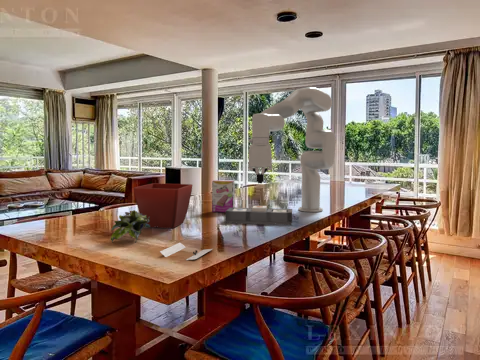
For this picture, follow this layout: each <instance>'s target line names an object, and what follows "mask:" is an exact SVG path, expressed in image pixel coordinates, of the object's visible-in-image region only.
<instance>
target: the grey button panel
mask: <svg viewBox="0 0 480 360" xmlns="http://www.w3.org/2000/svg"><path fill="white" fill-rule="evenodd" d="M233 209H247V211H232V210H233ZM273 210H287V212H273ZM224 224H240V225H268V226H269V225H273V226H293V208H271V207H270V208H268V207H267V212H261V211H252V207H234V208H232V207H230V208H229V209H228V210H227V211H226V212H225V220H224Z"/></svg>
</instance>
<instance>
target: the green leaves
mask: <svg viewBox="0 0 480 360" xmlns="http://www.w3.org/2000/svg"><path fill="white" fill-rule="evenodd" d="M118 218H119V219H120V220H114V223H115V224H113V225H112V227H111V228H110V229H111V231H114V232H113V233H112V234H111V236H110V239H109V240H110V241H111V242H112V243H114V241H115V240H119V239H120V238H122V237H123V236H125V235H127V234H129V236H130V237H131V238H133V239H135V242H134V243H135V244H136V243H137V240H138V238H139V236H140V235H141V234H142V230H143V229H144V228H151V227H150V225H149V224H147V223H148V222H149V221H150V220H149V219H150V216H149V217H148V218H147V215H142V213H141V214H140V212H139V211H136V210H135V209H133V210H130V211H129V212H128V211H124V214H123V215H121V214H119V215H118ZM144 218H145V219H144ZM146 219H147V220H146ZM116 228H117V229H116ZM114 229H116V230H114Z"/></svg>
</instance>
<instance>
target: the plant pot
mask: <svg viewBox="0 0 480 360" xmlns="http://www.w3.org/2000/svg"><path fill="white" fill-rule="evenodd" d="M192 192H193V184H190V183H188V184H186V183H154V182H153V183H148V184H144V185H139V186H135V187H133V193H134V198H135V201H136V205H137V209H138V213H140V214H141V213H142V215H147V218H148V217H149V216H150V219H149V220H150V221H149V222H148V223H147V224H149V225H150V227H149V228H156V227H157V228H159V229H175V228H176V227H178V226H180V225H182V224H183V223H185V219H186V216H187V213H188V210H189V206H190V202H191V197H192ZM144 219H145V218H144ZM146 220H147V219H146Z"/></svg>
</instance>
